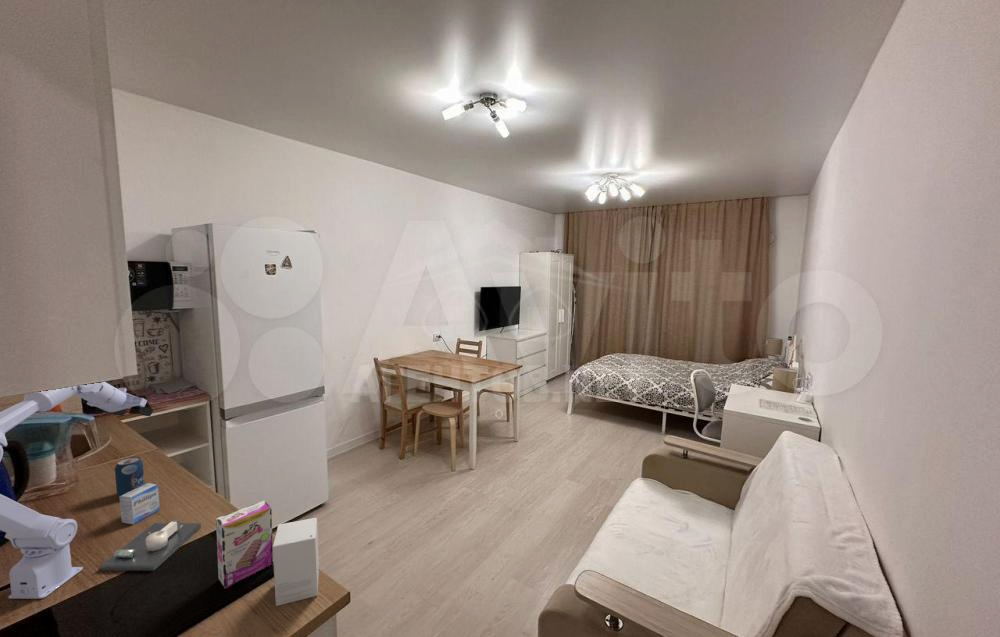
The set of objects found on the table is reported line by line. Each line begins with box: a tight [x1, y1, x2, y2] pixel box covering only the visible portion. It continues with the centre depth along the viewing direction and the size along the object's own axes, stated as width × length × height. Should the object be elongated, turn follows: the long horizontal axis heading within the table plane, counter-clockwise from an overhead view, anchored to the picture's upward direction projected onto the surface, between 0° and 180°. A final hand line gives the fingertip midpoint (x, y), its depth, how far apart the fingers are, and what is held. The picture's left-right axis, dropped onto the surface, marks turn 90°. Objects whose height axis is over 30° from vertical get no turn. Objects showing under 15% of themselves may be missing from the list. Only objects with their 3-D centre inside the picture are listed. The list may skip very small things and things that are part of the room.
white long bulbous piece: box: [146, 519, 180, 551], centre depth 112 cm, size 9×4×3 cm, turn 2°
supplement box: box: [272, 517, 320, 607], centre depth 98 cm, size 9×9×15 cm
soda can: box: [114, 455, 146, 498], centre depth 135 cm, size 7×7×12 cm
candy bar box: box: [215, 500, 274, 590], centre depth 102 cm, size 11×5×16 cm, turn 141°
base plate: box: [99, 522, 202, 572], centre depth 111 cm, size 17×13×3 cm
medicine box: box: [118, 482, 160, 525], centre depth 124 cm, size 8×4×9 cm, turn 168°
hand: (137, 412), depth 122 cm, fingers open, 7 cm apart
